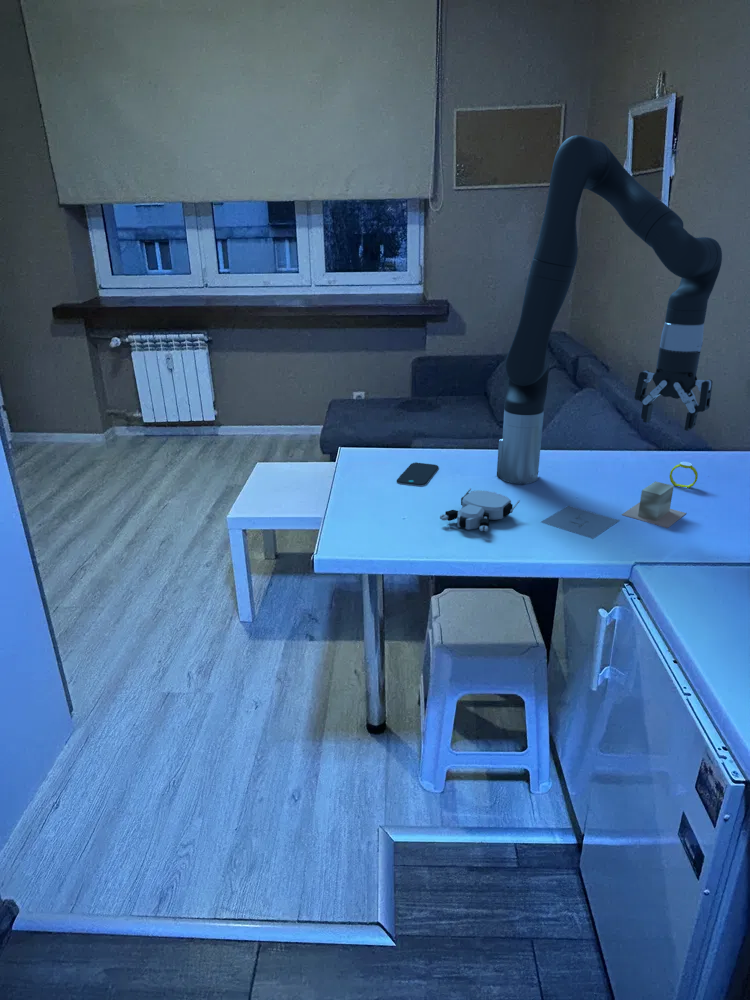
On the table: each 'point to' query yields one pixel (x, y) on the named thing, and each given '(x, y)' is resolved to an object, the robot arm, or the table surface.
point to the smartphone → (417, 474)
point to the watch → (684, 465)
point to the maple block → (655, 501)
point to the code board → (580, 521)
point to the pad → (663, 521)
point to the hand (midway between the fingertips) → (666, 425)
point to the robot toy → (480, 509)
